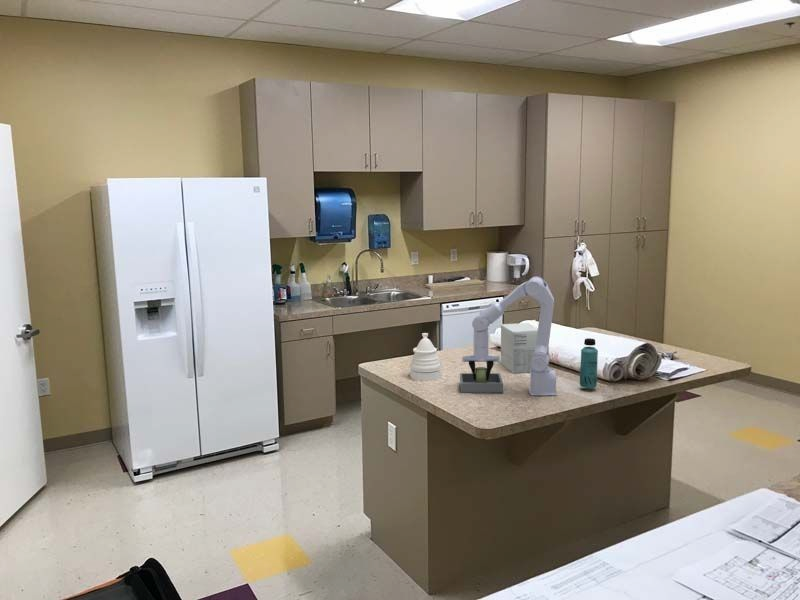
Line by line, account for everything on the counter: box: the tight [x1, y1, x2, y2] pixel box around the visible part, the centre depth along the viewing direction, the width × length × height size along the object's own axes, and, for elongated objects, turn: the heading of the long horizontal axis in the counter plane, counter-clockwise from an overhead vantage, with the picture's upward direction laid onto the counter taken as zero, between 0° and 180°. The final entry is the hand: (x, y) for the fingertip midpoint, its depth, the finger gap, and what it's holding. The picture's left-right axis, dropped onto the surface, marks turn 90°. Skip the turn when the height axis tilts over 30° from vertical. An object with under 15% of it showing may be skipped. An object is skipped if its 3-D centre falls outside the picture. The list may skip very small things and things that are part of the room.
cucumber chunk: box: [475, 366, 487, 383], centre depth 254 cm, size 4×4×6 cm
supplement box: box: [500, 322, 538, 374], centre depth 282 cm, size 17×13×18 cm
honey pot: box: [409, 332, 442, 382], centre depth 271 cm, size 13×13×18 cm
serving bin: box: [459, 372, 504, 395], centre depth 255 cm, size 16×14×4 cm
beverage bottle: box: [579, 337, 599, 389], centre depth 249 cm, size 6×7×20 cm
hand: (480, 379), depth 255 cm, fingers closed on cucumber chunk, 4 cm apart
